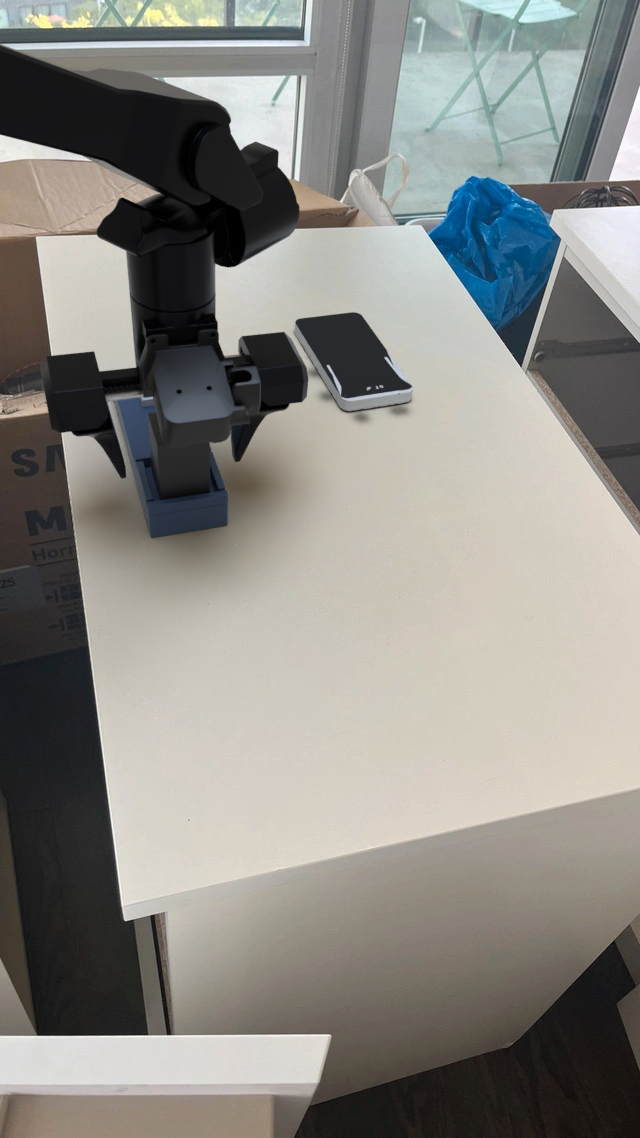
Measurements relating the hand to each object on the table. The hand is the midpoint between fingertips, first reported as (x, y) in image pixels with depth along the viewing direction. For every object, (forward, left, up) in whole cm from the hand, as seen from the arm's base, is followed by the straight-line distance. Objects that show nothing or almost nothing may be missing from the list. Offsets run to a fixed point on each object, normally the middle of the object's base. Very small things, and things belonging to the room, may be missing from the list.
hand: (180, 466), depth 69 cm
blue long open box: (0, +7, -4) cm, 8 cm away
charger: (0, 0, -2) cm, 2 cm away
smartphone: (+21, +17, -4) cm, 27 cm away
